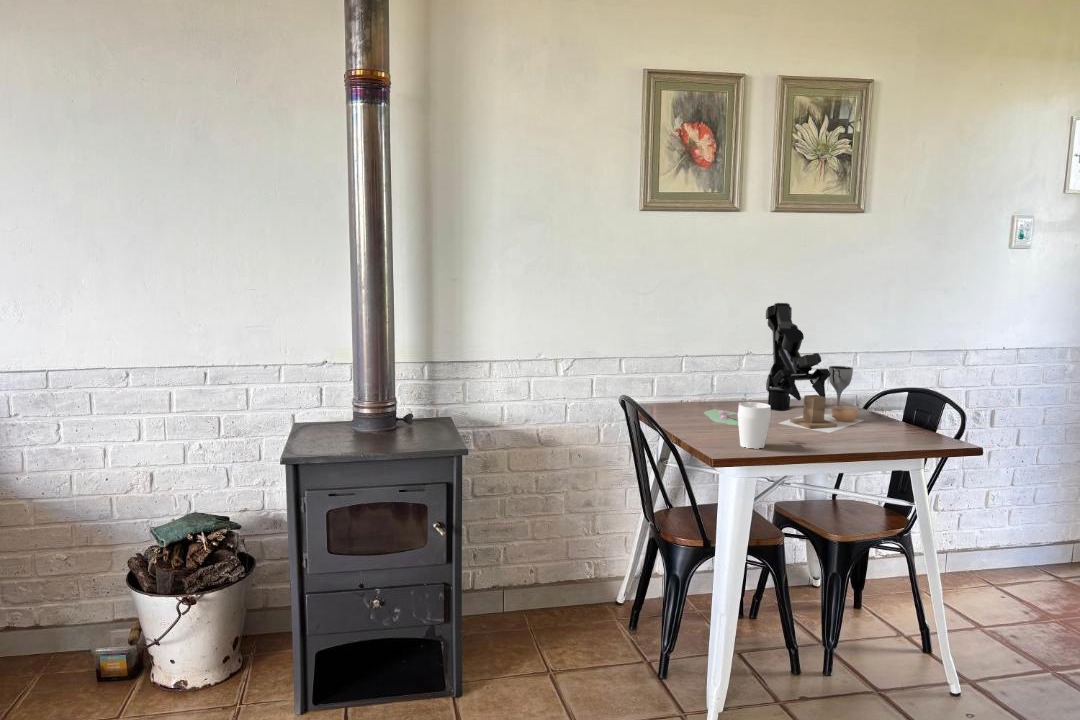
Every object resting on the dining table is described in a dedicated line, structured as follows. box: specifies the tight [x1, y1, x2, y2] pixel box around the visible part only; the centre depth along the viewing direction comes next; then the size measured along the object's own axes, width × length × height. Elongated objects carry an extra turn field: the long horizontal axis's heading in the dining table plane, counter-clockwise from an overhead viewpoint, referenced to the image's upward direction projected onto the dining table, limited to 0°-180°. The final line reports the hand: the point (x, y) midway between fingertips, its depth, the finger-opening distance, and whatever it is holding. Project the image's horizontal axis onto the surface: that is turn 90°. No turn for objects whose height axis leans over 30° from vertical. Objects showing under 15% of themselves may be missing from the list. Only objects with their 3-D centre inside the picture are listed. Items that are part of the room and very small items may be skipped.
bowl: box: [831, 405, 859, 422], centre depth 259 cm, size 8×8×4 cm
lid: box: [789, 394, 837, 430], centre depth 251 cm, size 10×10×9 cm
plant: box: [703, 393, 752, 426], centre depth 265 cm, size 25×21×9 cm
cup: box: [737, 401, 772, 450], centre depth 226 cm, size 9×9×12 cm
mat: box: [777, 413, 865, 434], centre depth 256 cm, size 17×26×1 cm, turn 136°
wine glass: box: [828, 365, 854, 406], centre depth 280 cm, size 8×8×15 cm
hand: (812, 399), depth 252 cm, fingers open, 9 cm apart
